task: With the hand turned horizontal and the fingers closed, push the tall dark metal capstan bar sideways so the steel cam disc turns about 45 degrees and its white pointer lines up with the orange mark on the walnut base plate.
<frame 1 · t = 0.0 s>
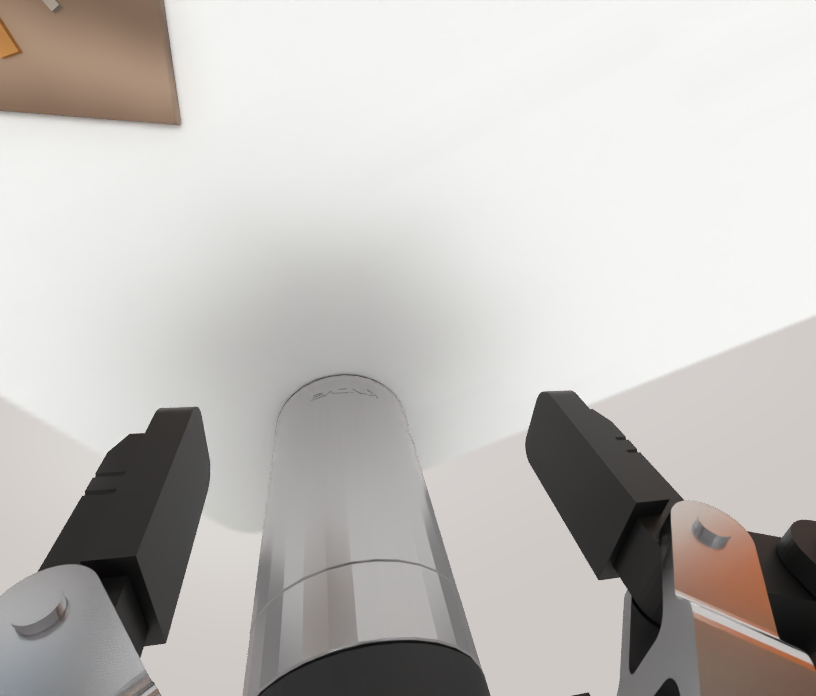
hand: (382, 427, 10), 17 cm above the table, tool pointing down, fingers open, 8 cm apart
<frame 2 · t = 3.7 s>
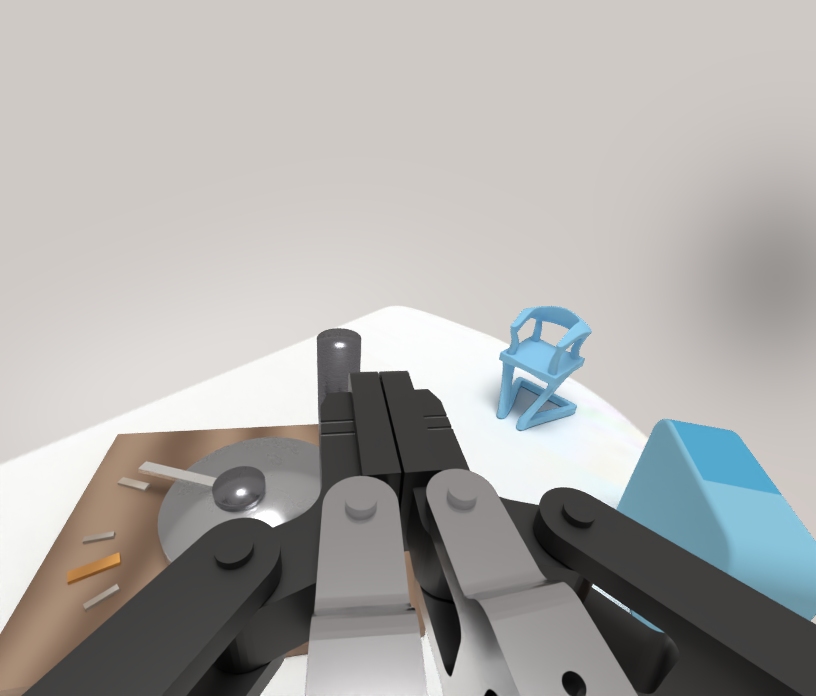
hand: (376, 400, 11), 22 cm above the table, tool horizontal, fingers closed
chair: (527, 411, 49), on the table
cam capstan: (235, 426, 29), point 9 cm above the table, hinge at 0.0°
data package: (657, 602, 31), on the table
base plate: (244, 521, 33), on the table
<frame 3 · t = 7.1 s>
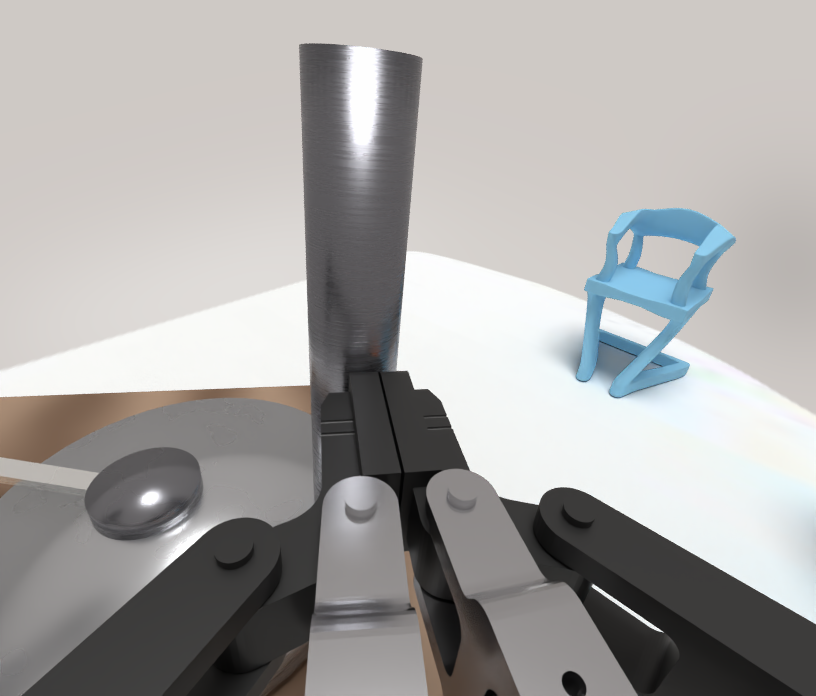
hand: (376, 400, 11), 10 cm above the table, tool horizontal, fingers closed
chair: (616, 372, 34), on the table
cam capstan: (117, 354, 13), point 9 cm above the table, hinge at 4.8°, touching gripper
base plate: (166, 552, 18), on the table
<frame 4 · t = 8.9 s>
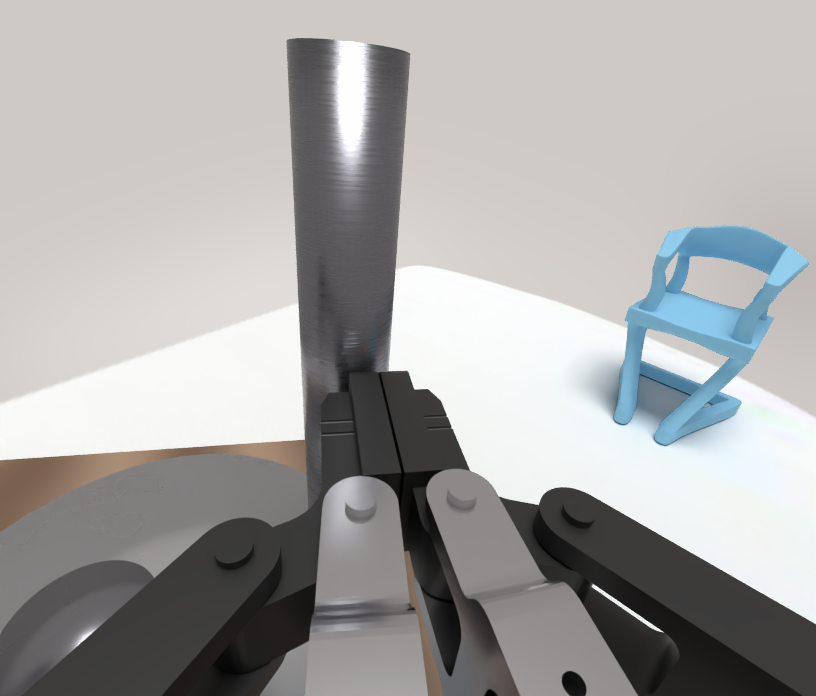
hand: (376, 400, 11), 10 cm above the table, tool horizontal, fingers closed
chair: (658, 410, 30), on the table
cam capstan: (26, 467, 9), point 9 cm above the table, hinge at 42.9°
base plate: (117, 695, 13), on the table
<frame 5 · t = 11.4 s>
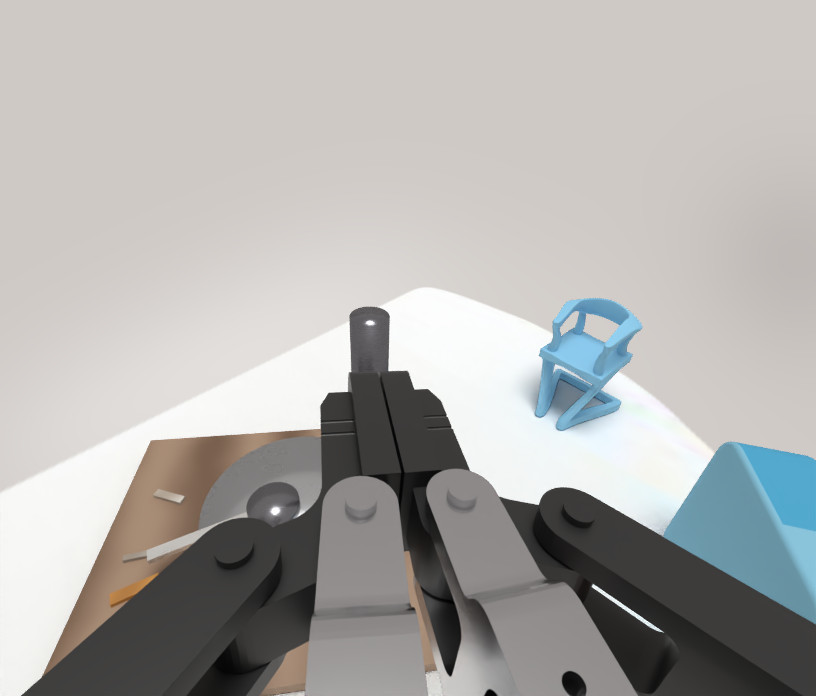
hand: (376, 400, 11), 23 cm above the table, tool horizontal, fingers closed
chair: (567, 407, 47), on the table
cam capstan: (267, 447, 28), point 9 cm above the table, hinge at 42.9°
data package: (712, 629, 29), on the table
base plate: (280, 535, 33), on the table
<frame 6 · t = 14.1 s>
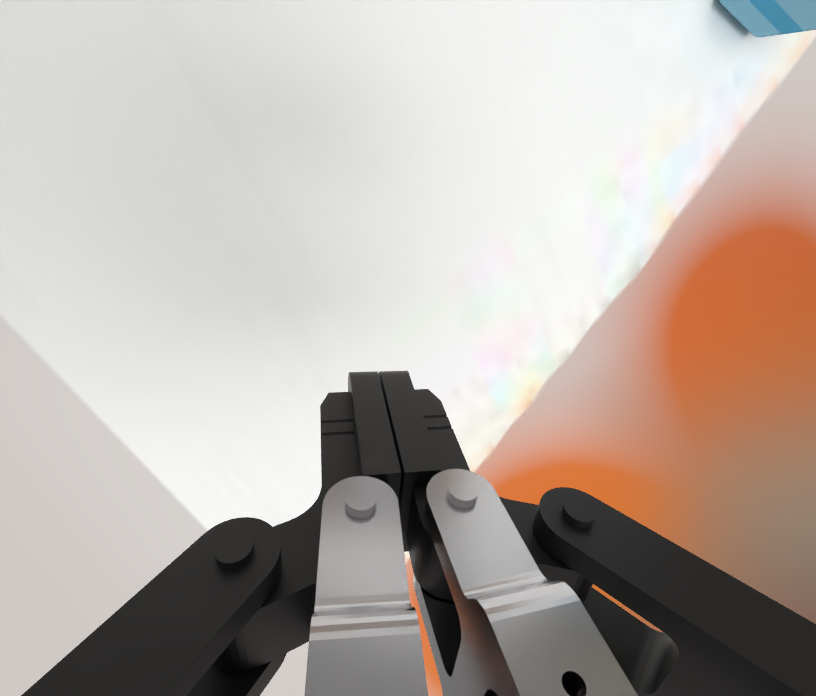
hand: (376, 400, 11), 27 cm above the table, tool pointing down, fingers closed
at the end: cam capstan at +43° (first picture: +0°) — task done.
